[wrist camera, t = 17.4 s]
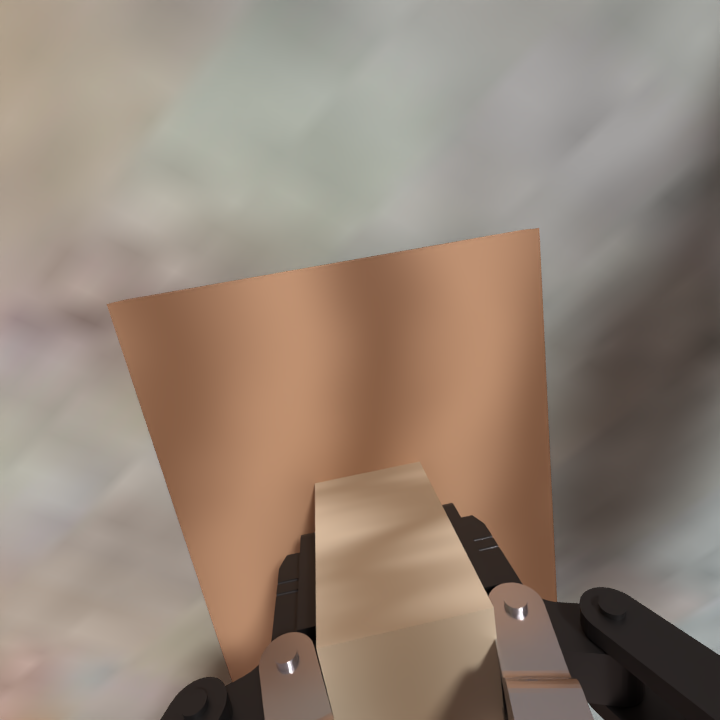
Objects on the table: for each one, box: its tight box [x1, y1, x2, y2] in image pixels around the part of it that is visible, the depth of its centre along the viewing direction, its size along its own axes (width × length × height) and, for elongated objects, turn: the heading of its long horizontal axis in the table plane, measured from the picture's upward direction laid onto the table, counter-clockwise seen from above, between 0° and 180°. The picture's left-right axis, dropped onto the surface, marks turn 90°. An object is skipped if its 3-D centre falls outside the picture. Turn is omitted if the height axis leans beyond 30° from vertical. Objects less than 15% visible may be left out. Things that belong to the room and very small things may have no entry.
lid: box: [107, 228, 557, 720], centre depth 12 cm, size 13×18×7 cm
